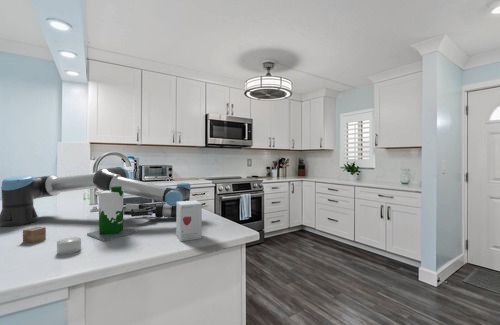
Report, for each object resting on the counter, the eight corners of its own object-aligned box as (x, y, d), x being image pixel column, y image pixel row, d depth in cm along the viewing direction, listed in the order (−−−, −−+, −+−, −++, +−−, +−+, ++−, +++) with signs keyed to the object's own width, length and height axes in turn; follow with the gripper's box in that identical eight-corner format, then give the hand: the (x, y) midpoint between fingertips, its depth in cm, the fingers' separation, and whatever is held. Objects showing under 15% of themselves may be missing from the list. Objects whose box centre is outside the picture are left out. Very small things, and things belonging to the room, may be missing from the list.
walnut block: (22, 242, 98) (22, 229, 98) (36, 238, 103) (36, 226, 103) (32, 243, 97) (32, 230, 97) (45, 239, 102) (45, 227, 101)
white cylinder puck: (53, 252, 88) (53, 241, 88) (75, 246, 94) (75, 236, 94) (62, 256, 84) (61, 245, 84) (84, 250, 90) (84, 239, 90)
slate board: (87, 235, 107) (87, 233, 107) (119, 227, 119) (119, 225, 119) (103, 241, 99) (103, 239, 99) (136, 232, 111) (136, 230, 111)
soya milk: (118, 234, 105) (118, 188, 105) (95, 235, 104) (95, 188, 104) (126, 228, 114) (125, 185, 114) (105, 229, 113) (104, 185, 113)
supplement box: (180, 242, 99) (180, 205, 99) (175, 235, 107) (175, 201, 107) (202, 238, 104) (202, 203, 103) (196, 232, 112) (196, 199, 111)
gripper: (159, 223, 124) (113, 222, 120) (166, 211, 148) (128, 210, 144) (160, 208, 123) (114, 207, 119) (167, 199, 148) (129, 197, 144)
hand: (122, 209), depth 132 cm, fingers open, 13 cm apart
